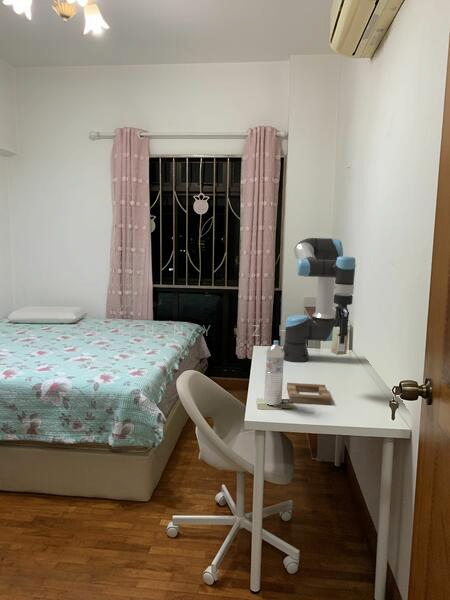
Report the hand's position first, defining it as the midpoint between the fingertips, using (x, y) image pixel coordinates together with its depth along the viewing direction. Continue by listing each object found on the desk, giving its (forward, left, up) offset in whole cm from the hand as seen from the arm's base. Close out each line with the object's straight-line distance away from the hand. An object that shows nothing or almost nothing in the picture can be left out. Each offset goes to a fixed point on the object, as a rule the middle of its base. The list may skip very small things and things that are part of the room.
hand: (339, 348), depth 180 cm
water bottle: (+17, -28, -19) cm, 37 cm away
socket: (+7, -13, -19) cm, 24 cm away
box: (0, 0, -2) cm, 2 cm away
